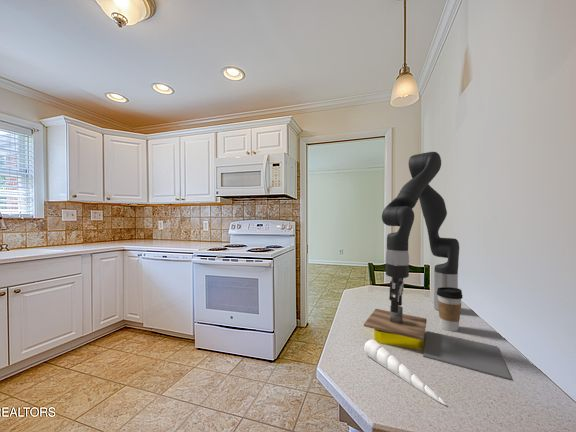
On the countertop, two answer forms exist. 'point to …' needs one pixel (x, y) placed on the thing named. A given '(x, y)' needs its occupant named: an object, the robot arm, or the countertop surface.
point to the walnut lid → (397, 323)
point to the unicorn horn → (397, 368)
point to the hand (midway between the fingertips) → (396, 308)
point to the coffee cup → (449, 307)
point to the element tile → (397, 340)
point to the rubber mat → (465, 354)
